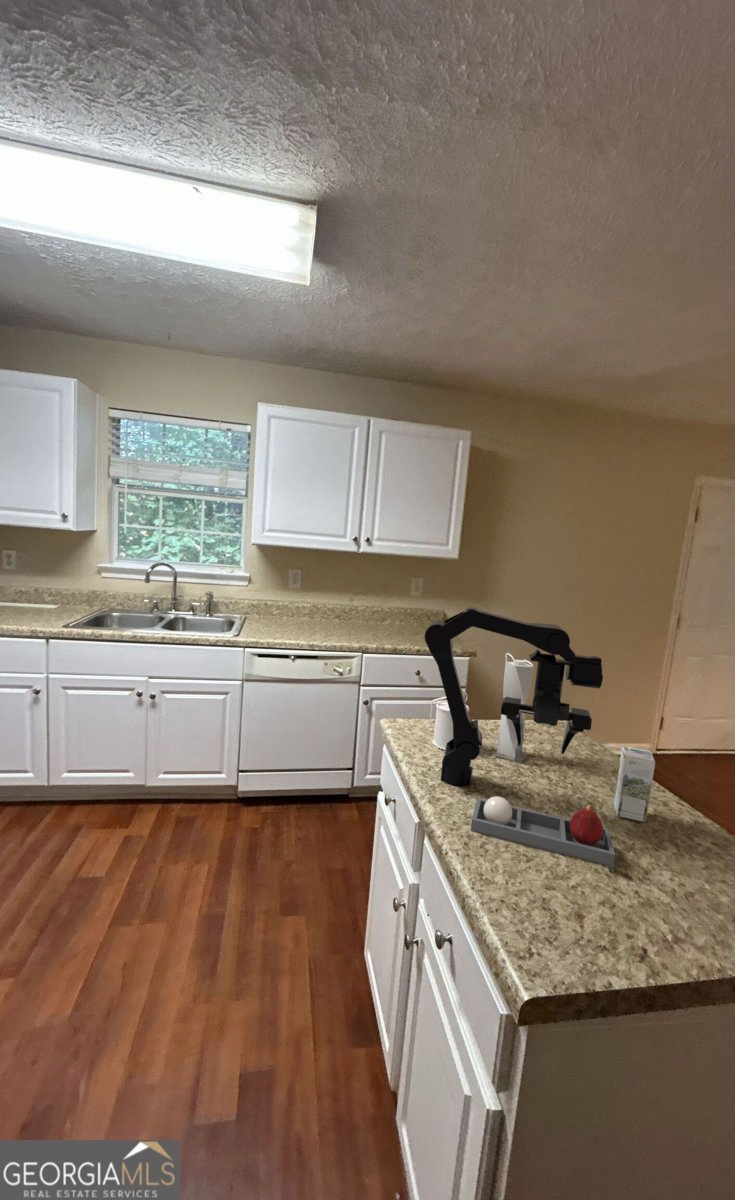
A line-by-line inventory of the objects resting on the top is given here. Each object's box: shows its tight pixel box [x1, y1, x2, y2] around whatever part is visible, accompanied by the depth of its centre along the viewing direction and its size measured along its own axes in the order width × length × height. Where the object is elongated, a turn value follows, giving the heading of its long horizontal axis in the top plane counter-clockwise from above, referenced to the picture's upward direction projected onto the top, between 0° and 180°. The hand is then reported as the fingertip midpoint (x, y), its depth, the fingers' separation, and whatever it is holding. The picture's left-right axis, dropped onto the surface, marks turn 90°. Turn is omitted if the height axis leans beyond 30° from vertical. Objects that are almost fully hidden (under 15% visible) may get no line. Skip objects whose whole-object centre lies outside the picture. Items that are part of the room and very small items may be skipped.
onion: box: [570, 804, 604, 846], centre depth 95 cm, size 6×6×8 cm
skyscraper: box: [494, 652, 534, 765], centre depth 137 cm, size 8×8×28 cm
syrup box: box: [613, 746, 656, 823], centre depth 110 cm, size 6×6×14 cm
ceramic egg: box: [483, 795, 512, 825], centre depth 101 cm, size 6×6×6 cm
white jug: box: [429, 688, 470, 751], centre depth 141 cm, size 10×9×20 cm
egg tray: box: [470, 797, 616, 874], centre depth 98 cm, size 25×9×4 cm, turn 71°
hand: (540, 749), depth 113 cm, fingers open, 9 cm apart
